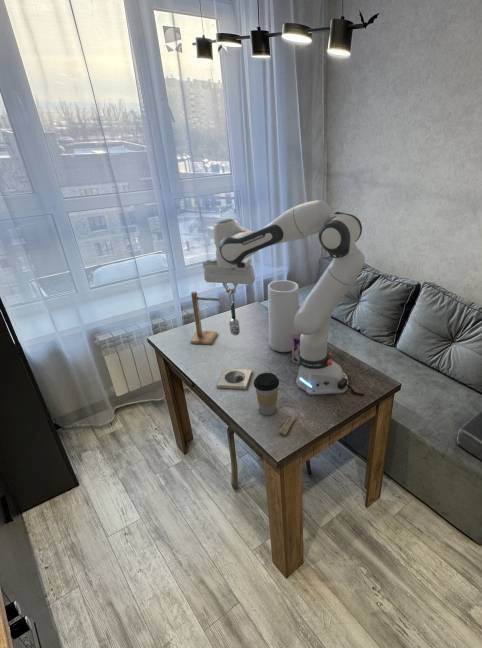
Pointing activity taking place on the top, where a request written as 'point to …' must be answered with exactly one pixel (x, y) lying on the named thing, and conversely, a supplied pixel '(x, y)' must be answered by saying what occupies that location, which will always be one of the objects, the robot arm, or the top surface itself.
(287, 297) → the vase
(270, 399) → the coffee cup
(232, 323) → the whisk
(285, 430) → the snack bar
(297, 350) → the greeting card
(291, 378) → the top surface
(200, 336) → the hook stand
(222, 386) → the hot plate
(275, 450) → the top surface
